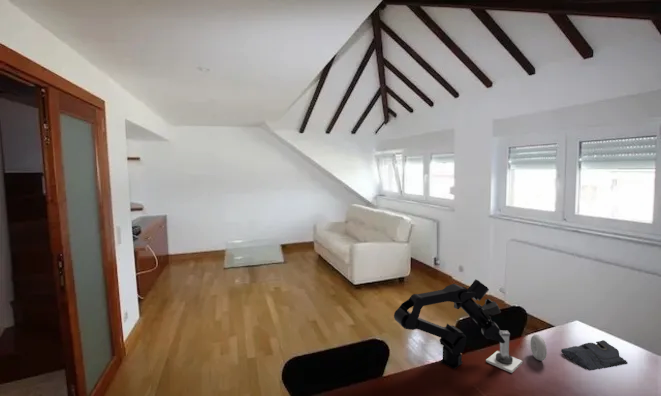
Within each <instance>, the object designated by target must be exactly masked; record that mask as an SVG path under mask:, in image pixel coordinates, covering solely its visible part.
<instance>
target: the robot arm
mask: <svg viewBox="0 0 661 396" xmlns="http://www.w3.org/2000/svg"><path fill="white" fill-rule="evenodd" d="M489 290H490V289H489V288H488V287H487V286H486V285H485V284H484V283H482V282H481V281H480V280H479V279H474V280H473V282H472V283H471V285H470V286H468V288H466V287H465V286H461V285H459V284H456V283H452V284H449V285H447V286H445V287H444V288H443V289H440V290H439V289H438V290H434V291H428V292H422V293H413V294H411V296H410V297H409V298H408V299H407V300H405V301H404V302H402V303H401V304H400V305H399V307H398V308H397V309H395V311H394V314H393V318H394V320H395V321H396V322H397V323H398V324H399V325H400V326H401V327H402V328H403V329H405V330H411V331H414V330H418V331H422V332H424V333H427V334H429V335H433V336H435V337H438V338H440V339H439V343H440V345H441V346H442V359H441V360H440V363H441V364H443V365H446V366H448V367H450V368H452V369H455V370H456V369H457V368H458V367H459V366H461V365H462V364H463V361H462V357H463V356H462V354H463V353H464V351H465V348H466V345H467V339H468V338H467V336H466V334H464V332H463V331H462V330H461V329H459V328H458V327H456V326H455V325H451V324H449V323H446V326H441V325H439V324H436V323H434V322H431V321H429V320H426V319H423V318H421V317H420V313H421V310H422V309H423V307H426V306H429V305H430V306H431V305H435V304H440V303H446V302H448V303H449V302H450V303H453V308H454V309H456V310H460V309H462V310H463V312H465V313H466V314H467V315H468V317H469V318H470V319H471V320H473V321H474V322H475V323H476V325H477V326H478V327H481V326H483V327H481V331H480V332H481V334H482V335H483V337H484V338H486V340H493V341H496V342H498V343H499V344H500V343H505V341H504V339H503V338H502V336H501V335H500V333H499V330H501V329H500V327H499V325H498V324H497V323H496V322H495V321H492V316H495V315H500V314H501V313H502V311H501V309H500V306H499V305H498V303H497V301H495V300H491V299H490V298H487V299H484V304H483V305H481V304H480V303H477V301H478V302H480V301H481V300H482V299H483V298H484V297H485V295H487V293H488V292H489ZM411 308H412V310H411V312H410V311H409V309H411Z"/></svg>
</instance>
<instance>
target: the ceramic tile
mask: <svg viewBox="0 0 661 396" xmlns="http://www.w3.org/2000/svg"><path fill="white" fill-rule="evenodd" d="M497 353H500V350H496V351H495V352H494V353H493V354H491V355H490V356H489V357H488V358H486V359H485V362H486V363H488V364H489V365H492V366H495V367H496V368H499V369H501V370H504V371H506V372H508V373H510V374H513V372H515V371H516V370H517V369H518V368H519V367H520V366H521V365H522V364H523V360H521V359H518V358H517V357H515V356H511V355H510V356H511V357H512V358H513V362H512V364H509V365H506V364H502V363H500V362H498V361H497V360H496V354H497Z"/></svg>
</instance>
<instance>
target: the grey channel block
mask: <svg viewBox="0 0 661 396" xmlns="http://www.w3.org/2000/svg"><path fill="white" fill-rule="evenodd" d="M499 334H500V335H501V336H502V338H503V339H504V341H505V343H500V342H499V352H500V353H497V354H496V360H497V361H498V362H500V363H502V364H506V365H509V364H512V362H513V358H512V357H513V356H512V357H511V355H510V337H511V333H510V332H509V330H501V329H500V330H499Z"/></svg>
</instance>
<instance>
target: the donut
mask: <svg viewBox="0 0 661 396" xmlns="http://www.w3.org/2000/svg"><path fill="white" fill-rule="evenodd" d="M529 343H530V351H531V354H532V355H533V357H534V359H536V361H544V360H546V358H547V355H548V352H547V345H546V341H545V339H544V338H543V337H542V336H541V335H540V334H533V335H532V336H531V337H530V342H529Z"/></svg>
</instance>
